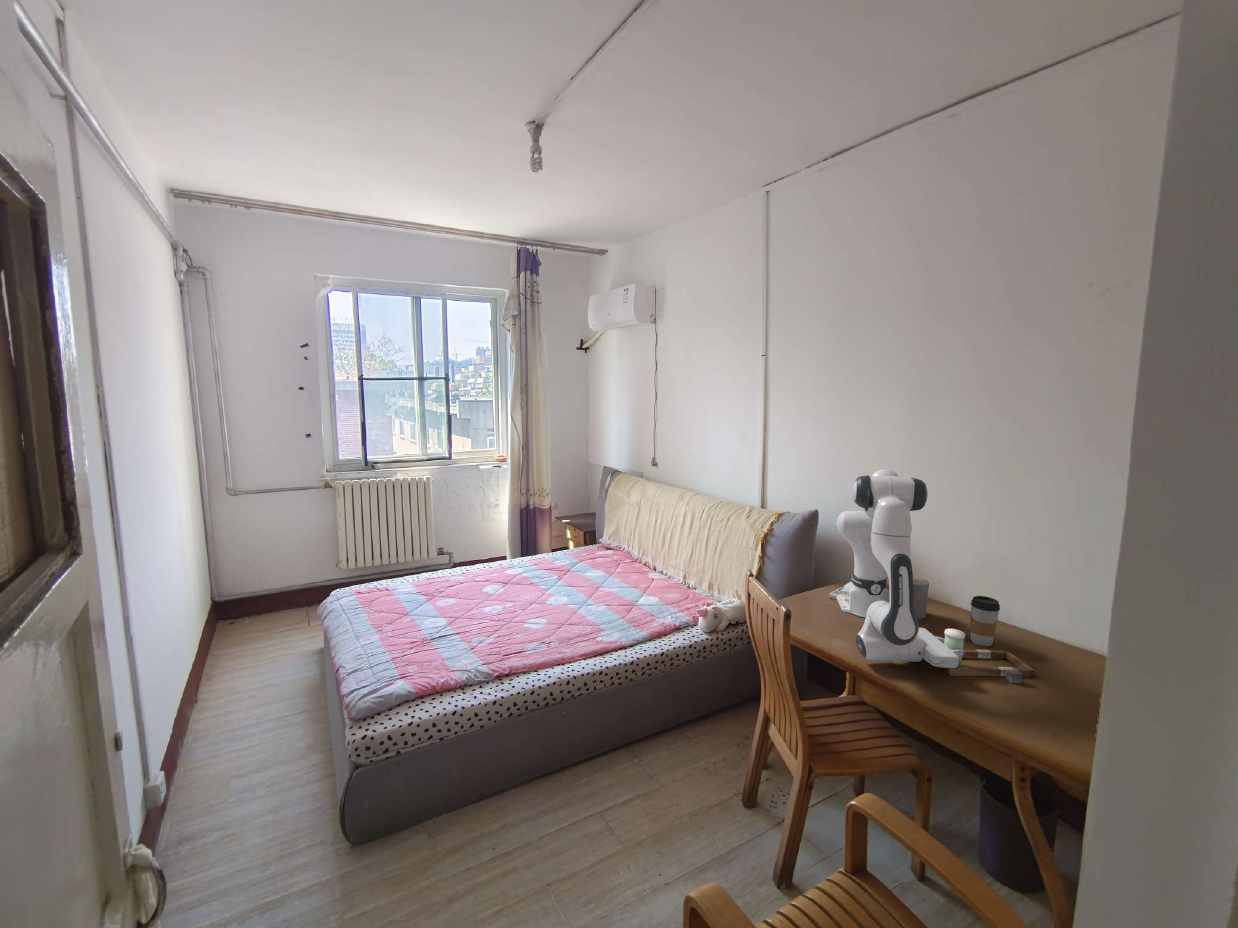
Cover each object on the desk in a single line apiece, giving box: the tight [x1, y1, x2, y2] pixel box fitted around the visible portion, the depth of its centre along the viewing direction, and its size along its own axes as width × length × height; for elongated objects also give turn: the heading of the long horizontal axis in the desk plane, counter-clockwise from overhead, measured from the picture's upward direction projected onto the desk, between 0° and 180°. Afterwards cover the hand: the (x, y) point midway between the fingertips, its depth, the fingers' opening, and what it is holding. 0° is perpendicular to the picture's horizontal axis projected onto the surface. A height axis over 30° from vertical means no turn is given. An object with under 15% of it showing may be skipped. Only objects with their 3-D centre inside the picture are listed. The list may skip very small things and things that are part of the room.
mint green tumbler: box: [944, 628, 966, 667], centre depth 176 cm, size 5×5×11 cm
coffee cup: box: [969, 595, 1001, 647], centre depth 191 cm, size 8×8×15 cm
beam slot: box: [946, 649, 1036, 684], centre depth 174 cm, size 16×25×3 cm, turn 89°
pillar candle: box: [913, 575, 930, 620], centre depth 214 cm, size 10×10×15 cm
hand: (956, 646), depth 176 cm, fingers closed on mint green tumbler, 5 cm apart
